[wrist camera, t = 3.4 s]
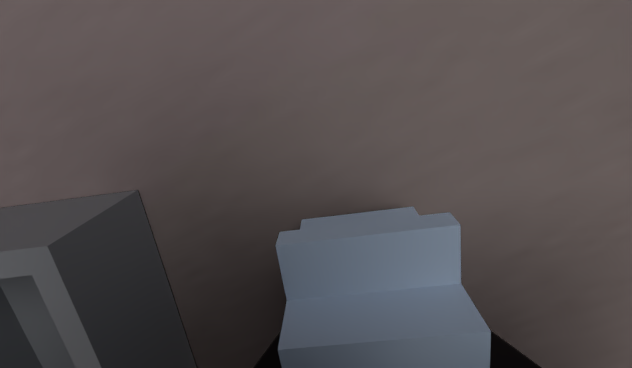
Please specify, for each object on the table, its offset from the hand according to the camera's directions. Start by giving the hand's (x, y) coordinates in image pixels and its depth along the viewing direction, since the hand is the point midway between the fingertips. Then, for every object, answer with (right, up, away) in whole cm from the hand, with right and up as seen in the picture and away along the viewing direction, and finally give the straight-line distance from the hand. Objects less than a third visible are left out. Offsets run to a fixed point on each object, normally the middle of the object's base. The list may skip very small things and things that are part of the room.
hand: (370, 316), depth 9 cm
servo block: (0, 0, +1) cm, 1 cm away
